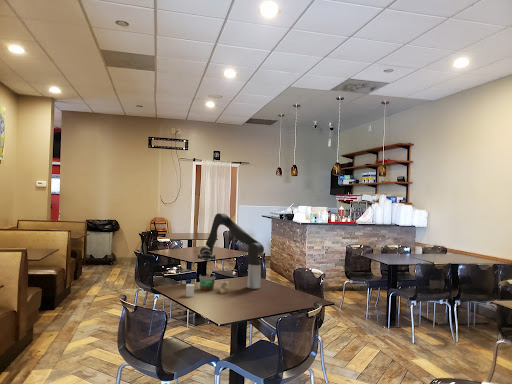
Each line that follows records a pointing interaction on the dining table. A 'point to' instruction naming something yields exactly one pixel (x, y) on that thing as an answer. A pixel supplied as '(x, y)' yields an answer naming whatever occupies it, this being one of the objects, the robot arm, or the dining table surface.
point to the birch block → (224, 287)
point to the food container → (206, 283)
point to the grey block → (190, 290)
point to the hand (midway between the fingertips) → (206, 258)
